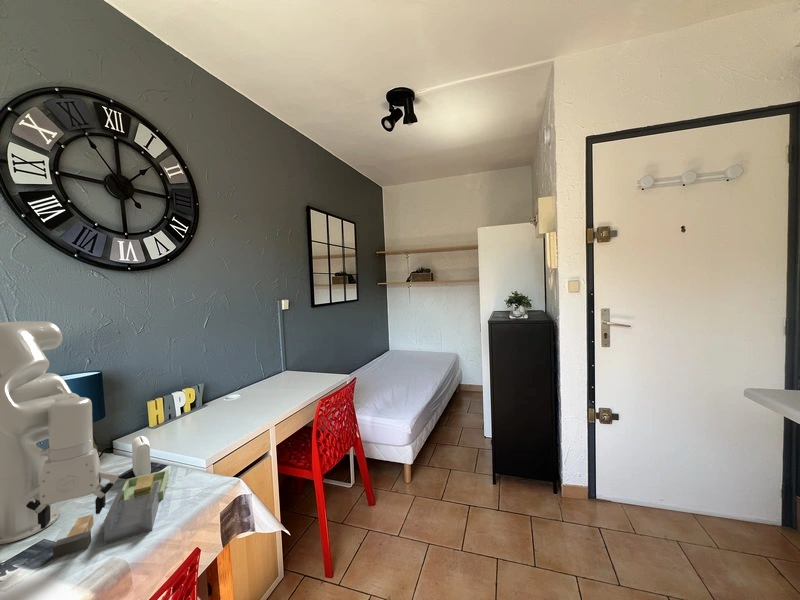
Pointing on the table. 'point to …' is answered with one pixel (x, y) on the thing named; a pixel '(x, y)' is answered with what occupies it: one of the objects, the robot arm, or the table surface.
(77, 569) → the table surface
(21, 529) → the robot arm
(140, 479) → the yellow cube
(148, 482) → the yellow wooden cube
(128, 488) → the chip tray
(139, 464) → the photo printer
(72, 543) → the t-shaped hammer
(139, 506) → the channel
